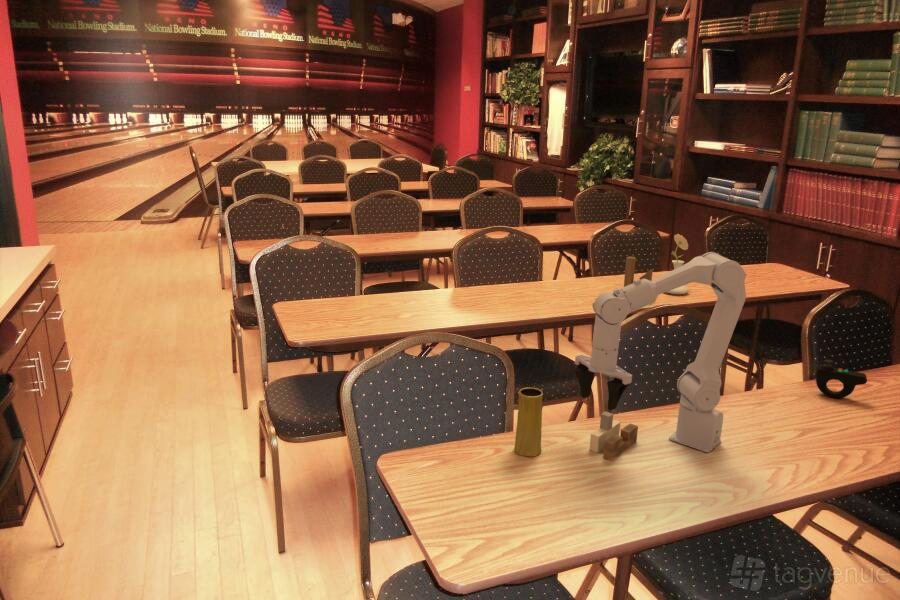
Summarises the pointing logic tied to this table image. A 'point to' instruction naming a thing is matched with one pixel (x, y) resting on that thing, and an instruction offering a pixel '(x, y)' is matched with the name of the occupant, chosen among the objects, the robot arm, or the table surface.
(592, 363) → the robot arm
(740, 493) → the table surface
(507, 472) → the table surface
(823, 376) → the controller
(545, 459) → the table surface
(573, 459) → the table surface
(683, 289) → the flower in vase
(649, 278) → the wooden block
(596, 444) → the burr puzzle piece
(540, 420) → the vase
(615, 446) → the walnut slotted plate
